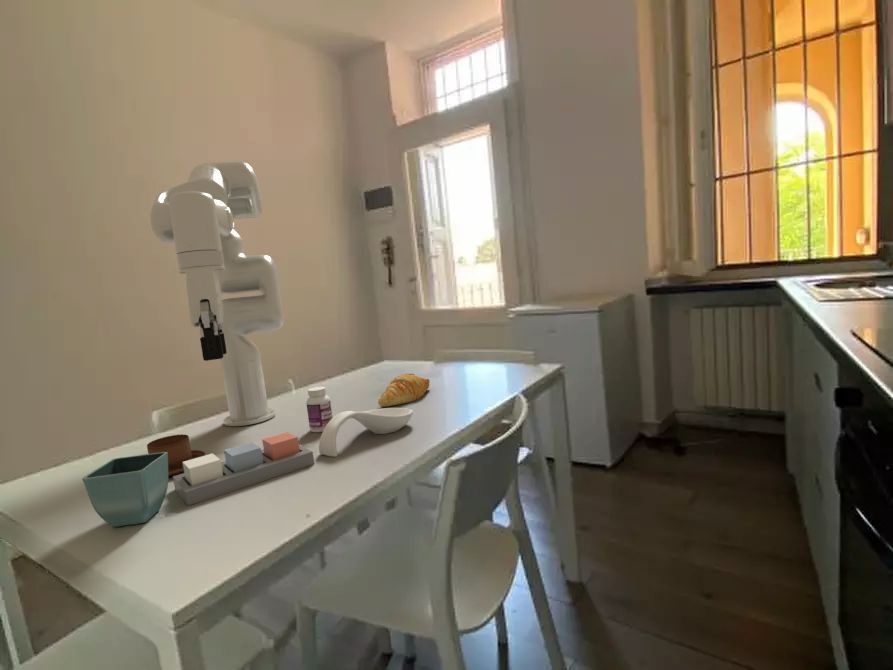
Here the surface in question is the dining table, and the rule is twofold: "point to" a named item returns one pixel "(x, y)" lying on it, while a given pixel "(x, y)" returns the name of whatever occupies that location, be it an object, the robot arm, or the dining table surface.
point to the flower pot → (129, 488)
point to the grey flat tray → (241, 476)
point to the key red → (280, 445)
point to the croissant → (404, 390)
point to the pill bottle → (318, 409)
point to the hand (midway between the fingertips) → (215, 357)
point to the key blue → (243, 457)
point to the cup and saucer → (174, 451)
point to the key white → (202, 469)
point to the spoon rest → (372, 420)
